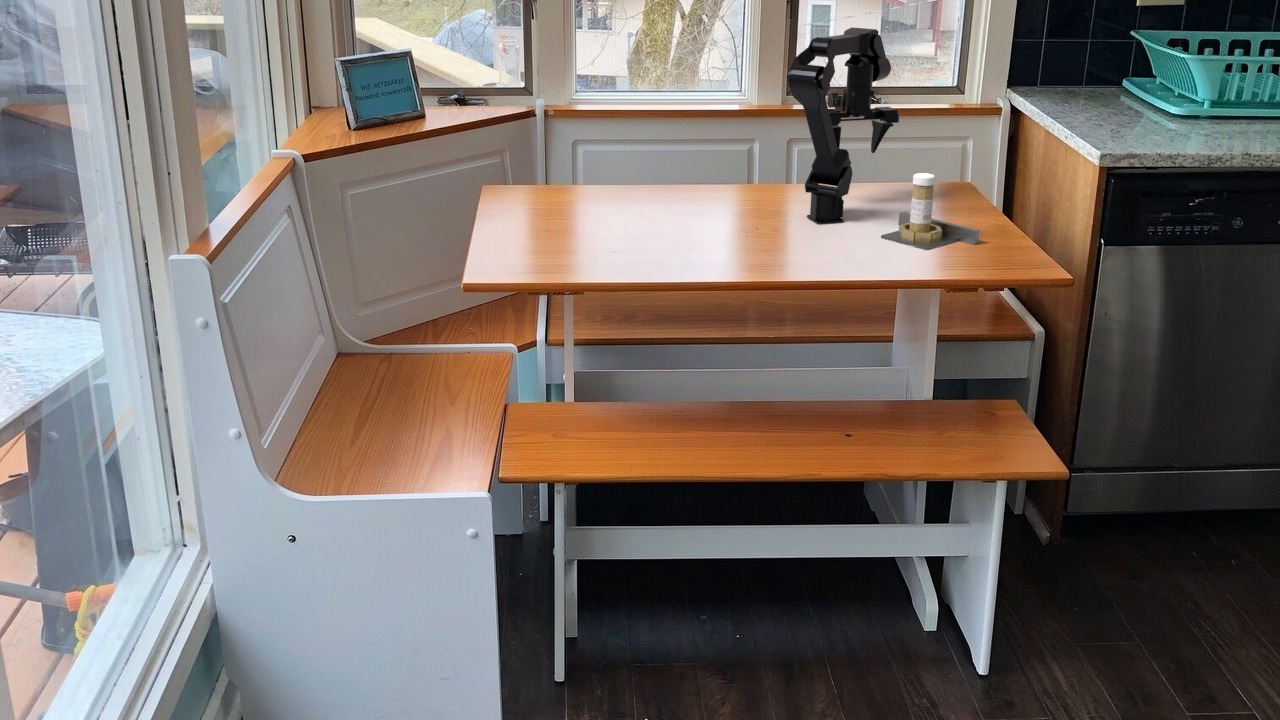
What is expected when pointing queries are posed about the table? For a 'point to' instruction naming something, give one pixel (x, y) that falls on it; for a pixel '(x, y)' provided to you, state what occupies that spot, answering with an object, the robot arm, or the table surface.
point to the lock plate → (932, 234)
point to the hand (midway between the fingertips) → (854, 153)
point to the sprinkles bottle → (922, 202)
